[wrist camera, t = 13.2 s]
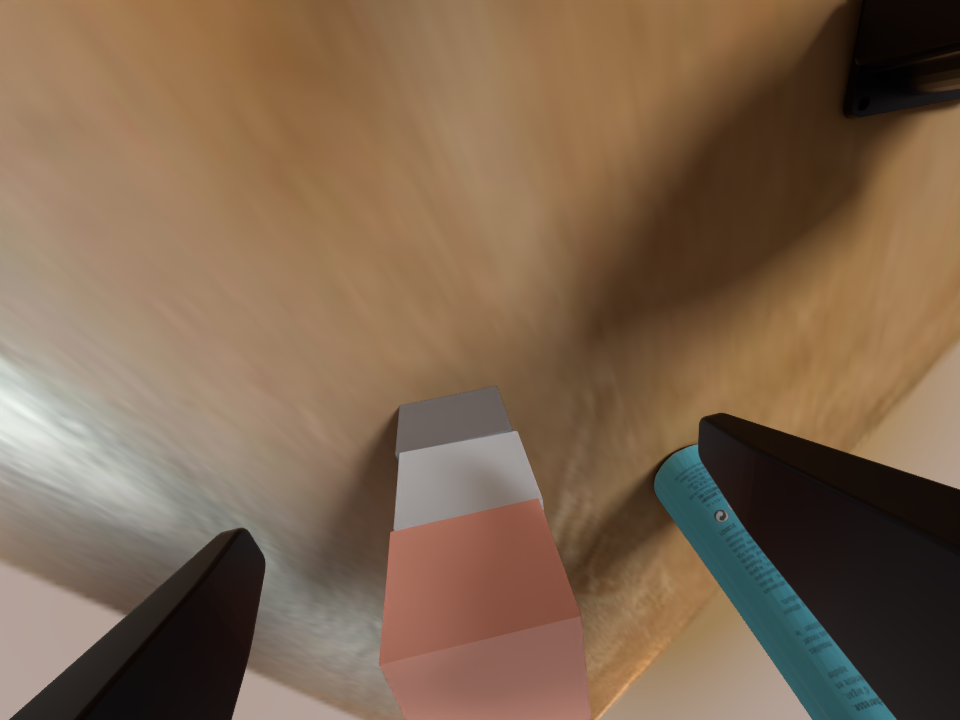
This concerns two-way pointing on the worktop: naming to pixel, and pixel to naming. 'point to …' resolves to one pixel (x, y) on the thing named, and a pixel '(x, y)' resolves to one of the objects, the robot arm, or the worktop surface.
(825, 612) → the robot arm
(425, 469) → the white brick
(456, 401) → the charcoal brick
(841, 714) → the tube
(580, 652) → the coral brick
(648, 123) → the worktop surface
